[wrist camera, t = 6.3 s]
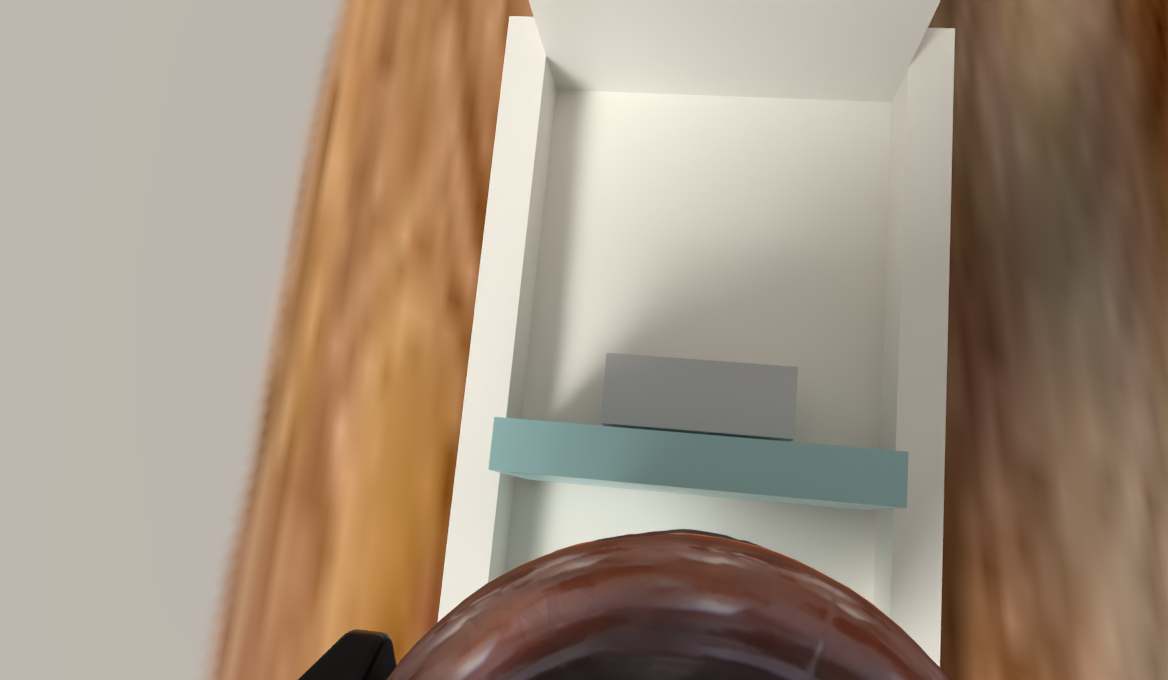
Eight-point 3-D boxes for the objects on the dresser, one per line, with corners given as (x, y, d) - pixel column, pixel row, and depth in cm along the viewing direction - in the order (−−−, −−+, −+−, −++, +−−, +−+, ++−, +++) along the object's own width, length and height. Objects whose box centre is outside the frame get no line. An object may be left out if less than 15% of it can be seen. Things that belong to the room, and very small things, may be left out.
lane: (904, 915, 20) (1006, 1104, 13) (437, 847, 21) (327, 990, 15) (928, 77, 23) (1019, -91, 17) (527, 63, 25) (469, -97, 18)
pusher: (861, 510, 21) (906, 508, 16) (529, 479, 22) (488, 469, 17) (865, 389, 21) (911, 355, 17) (541, 364, 22) (504, 327, 18)
